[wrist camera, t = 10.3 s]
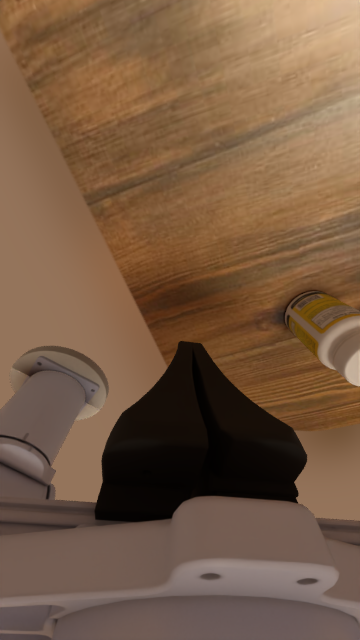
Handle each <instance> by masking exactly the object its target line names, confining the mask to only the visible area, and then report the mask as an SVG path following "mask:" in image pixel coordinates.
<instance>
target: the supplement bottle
mask: <svg viewBox="0 0 360 640" xmlns="http://www.w3.org/2000/svg"><path fill="white" fill-rule="evenodd" d="M285 323H286V325H287V327H288V328H289V329H290V330H291V331H292V332H293V334H294V335H295V336H296V337H297V338H298V339H299V340H300V341H301V342H302V343H303V344H304V345H305V346H306V347H307V348H308V349H309V350H310V351H311V352H312V353H313V354H314V355H315V356H316V357H317V358H318V359H319V360H320V361H321V362H322V363H323V364H324V365H325V366H327V367H329V368H331V369H334V370H337V371H338V372H339V373H340V374H341V375H342V376H343V377H344V378H345V379H346V380H347V381H348V382H350V383H351V384H353V385H356V386H360V311H358V310H356V309H354V308H353V307H351V306H349V305H347V304H345V303H343V302H341V301H339V300H337V299H335V298H333V297H332V296H330V295H328V294H326V293H323V292H319V291H312V292H307V293H304V294H301V295H300V296H298V297H296V298H295V299H294V300H293V301H292V302H291V303H290V304H289V306H288V308H287V310H286V313H285Z"/></svg>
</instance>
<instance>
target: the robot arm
mask: <svg viewBox="0 0 360 640" xmlns="http://www.w3.org/2000/svg"><path fill="white" fill-rule="evenodd" d="M99 387H100V386H99V385H98V384H97V383H95V382H93V381H91V380H89V379H87V378H85V377H83V376H81V375H79V374H77V373H75V372H73V371H72V370H70V369H68V368H66V367H64V366H62V365H60V364H58V363H56V362H54V361H52V360H50V359H48V358H46V357H44V356H39V357H38V358H37V360H36V361H35V363H34V365H33V367H32V368H31V370H30V372H29V374H28V375H27V377H26V379H25V381H24V382H23V384H22V386H21V388H20V389H19V390H18V391H17V392H16V393H15V395H14V396H13V397H12V398H11V399H10V400H9V401H8V402H7V403H6V404H5V405H4V406H3V407H2V409H1V410H0V640H360V521H354V520H339V519H325V518H315V516H314V514H313V513H311V511H310V510H309V509H308V508H307V507H305V506H303V505H301V504H298V502H297V500H296V497H298V490H297V488H296V486H295V483H294V481H295V480H296V479H297V477H298V476H299V474H300V473H301V472H302V470H303V469H304V467H305V465H306V462H307V454H306V452H305V451H304V449H303V446H302V444H301V442H300V441H299V439H298V437H297V435H296V433H295V432H294V430H293V428H292V427H290V426H288V425H287V424H285V423H283V422H282V421H280V420H279V419H277V418H275V417H274V416H272V415H271V414H269V413H268V412H266V411H265V410H263V409H262V408H261V407H259V406H258V405H256V404H255V403H254V402H252V401H251V400H250V399H249V398H248V397H246V396H245V395H244V394H243V393H242V392H241V391H239V390H238V389H237V388H236V387H235V386H234V385H233V384H232V383H231V382H230V381H229V380H228V379H227V378H226V377H225V375H224V374H223V373H222V372H221V371H220V369H219V368H218V367H217V366H216V364H215V363H214V362H213V360H212V359H211V357H210V356H209V354H208V353H207V351H206V350H205V348H204V347H203V345H202V344H201V343H193V342H184V341H180V342H179V343H178V349H177V352H176V354H175V356H174V358H173V360H172V362H171V364H170V365H169V367H168V369H167V370H166V372H165V373H164V374H163V376H162V377H161V378H160V379H159V381H158V382H157V383H156V384H155V385H154V387H153V388H152V389H151V390H150V391H149V392H147V394H145V395H144V396H143V397H142V398H141V399H140V400H139V401H138V402H136V403H135V404H133V405H132V406H131V407H130V408H128V409H127V410H125V411H124V412H123V413H122V414H121V416H120V417H119V419H118V421H117V422H116V424H115V426H114V428H113V429H112V431H111V433H110V436H109V438H108V440H107V443H106V446H105V449H104V452H103V455H102V477H103V483H102V486H101V490H100V493H99V496H98V500H97V503H92V502H78V501H64V500H55V487H54V485H53V484H51V480H52V478H53V476H54V474H55V472H56V470H54V469H53V468H51V466H52V464H53V462H54V460H55V458H56V456H57V454H58V452H59V450H60V448H61V446H62V444H63V443H64V441H65V439H66V437H67V435H68V433H69V431H70V429H71V427H72V425H73V423H74V421H75V419H76V417H77V416H78V414H79V413H80V412H81V411H82V410H83V408H84V407H85V406H86V405H87V403H88V402H89V401H90V400H91V398H92V397H93V396H94V395H95V393H96V392H97V391H98V390H99ZM93 389H94V390H93Z"/></svg>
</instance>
